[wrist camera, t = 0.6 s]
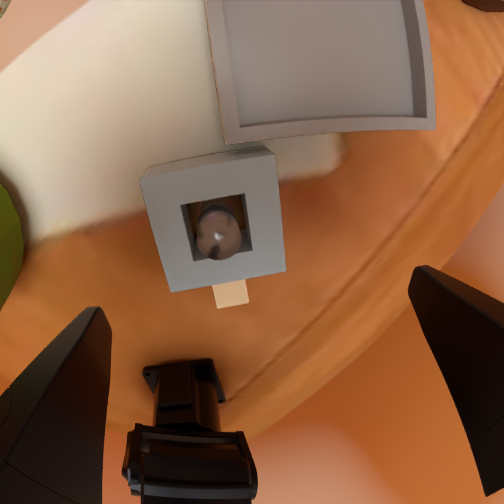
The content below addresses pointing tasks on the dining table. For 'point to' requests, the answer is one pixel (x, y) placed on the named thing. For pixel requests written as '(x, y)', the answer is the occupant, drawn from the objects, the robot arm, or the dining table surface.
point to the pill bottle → (3, 6)
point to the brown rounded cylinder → (217, 229)
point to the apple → (9, 246)
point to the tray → (320, 67)
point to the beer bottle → (487, 5)
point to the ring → (209, 187)
